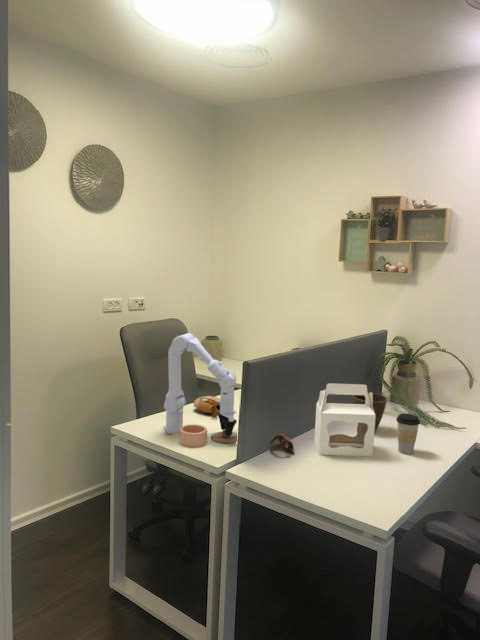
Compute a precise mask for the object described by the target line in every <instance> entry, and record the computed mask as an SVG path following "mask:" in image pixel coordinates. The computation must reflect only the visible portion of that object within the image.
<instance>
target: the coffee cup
mask: <svg viewBox="0 0 480 640" xmlns="http://www.w3.org/2000/svg"><path fill="white" fill-rule="evenodd" d="M395 421H396V422H397V447H398V448H397V449H398V452H399V453H400V454H403V455H412V454H413V453H414V450H415V449H414V448H415V444H416V441H417V437H418V431H419V425H421V420H420V419H419V417H418V416H417V415H415V414H411V413H399V414H398V416H396V420H395Z"/></svg>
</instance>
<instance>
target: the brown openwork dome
mask: <svg viewBox="0 0 480 640" xmlns="http://www.w3.org/2000/svg"><path fill="white" fill-rule="evenodd" d="M271 438H272V440H271V439H270V440H271V442H270V441H269V451H271V452H278V451H281V452H283V451H284V448H285V447H287V450H291V452H292V454H293V455H294V454H295V447H294V443H293V441H292V440H291V439H290V438H289V437H288V436H287V434H286V433H284V432H282V433H278V434H276V435H274V436H272V437H271ZM277 439H278V441H279V443H277V444H273V443H274V441H276V440H277Z"/></svg>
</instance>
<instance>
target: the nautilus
mask: <svg viewBox="0 0 480 640" xmlns="http://www.w3.org/2000/svg"><path fill="white" fill-rule="evenodd" d="M220 399H221V397H219V396H218V397H217V396H211V395H206V396H205V395H204V396H201V397H198V398H196V399H195V400H194V401H193V406H194V407H195V408H196V409H198V410H200V412H202V413H205V414H206V413H209V414H211V415H212V417H211V418H210V419H214V418H215V419H217V418H218V415H217V413H220Z"/></svg>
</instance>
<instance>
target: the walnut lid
mask: <svg viewBox="0 0 480 640" xmlns="http://www.w3.org/2000/svg"><path fill="white" fill-rule="evenodd" d="M213 433H214V434H212V435H211V440H212V441H214V442H216V443H221V444H233V443H236V442H237V433H234V432H232V435H231V436H226V432H225V430H222V431H217V432H213Z"/></svg>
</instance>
